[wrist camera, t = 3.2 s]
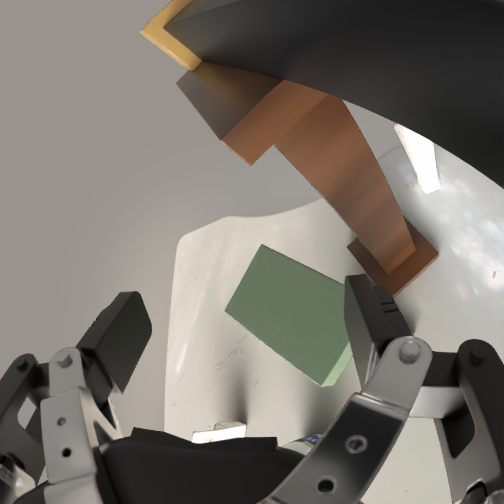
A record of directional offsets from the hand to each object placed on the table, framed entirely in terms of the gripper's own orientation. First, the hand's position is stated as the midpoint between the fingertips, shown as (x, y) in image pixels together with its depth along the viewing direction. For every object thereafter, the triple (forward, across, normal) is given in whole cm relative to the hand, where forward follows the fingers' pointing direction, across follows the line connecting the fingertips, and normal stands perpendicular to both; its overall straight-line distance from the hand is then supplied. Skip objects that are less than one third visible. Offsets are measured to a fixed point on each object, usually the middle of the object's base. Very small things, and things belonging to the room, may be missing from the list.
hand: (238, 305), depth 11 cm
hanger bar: (+4, -3, -10) cm, 11 cm away
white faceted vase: (+30, -24, +3) cm, 38 cm away
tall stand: (+25, -16, +11) cm, 32 cm away
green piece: (+18, -12, +20) cm, 30 cm away
